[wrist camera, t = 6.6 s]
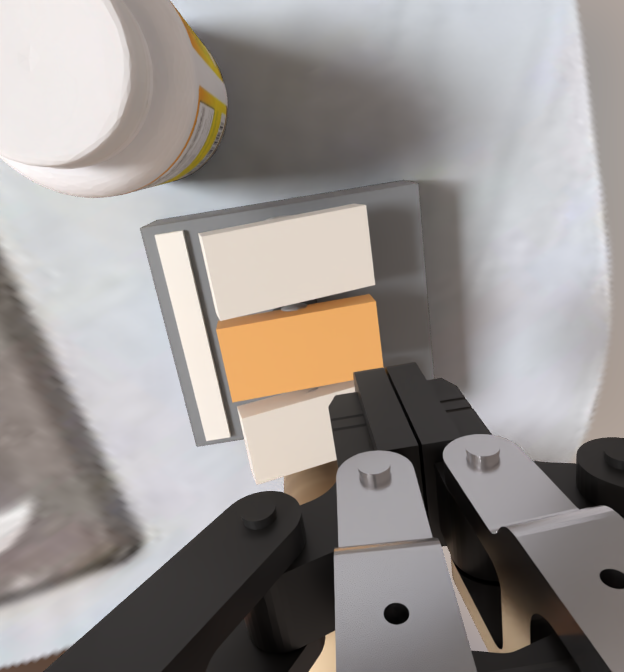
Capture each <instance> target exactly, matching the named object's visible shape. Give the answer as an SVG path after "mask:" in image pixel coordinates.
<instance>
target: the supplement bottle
mask: <svg viewBox="0 0 624 672" xmlns="http://www.w3.org/2000/svg"><path fill="white" fill-rule="evenodd" d="M227 116H228V99H227V92H226V88H225V84H224V80H223V77H222V75H221V72H220V70H219V68H218V66H217V64H216V62H215V60H214V58H213V57H212V55H211V54H210V52H209V51H208V50H207V48H206V47H205V46H204V44H203V43H202V42H201V41H200V40H199V38H198V37H197V35H196V34H195V33H194V32H193V30H192V29H191V27H190V26H189V25H188V24H187V22H186V21H185V20H184V19H183V17H182V16H181V14H180V13H179V12H178V10H177V9H176V8H175V6H174V5H173V4H172V3H171V1H170V0H0V158H1V159H3V160H4V161H5V162H6V163H7V164H8V165H9V166H10V167H12V168H13V169H15V170H16V171H17V172H19V173H20V174H22V175H23V176H25V177H26V178H28V179H30V180H31V181H33V182H35V183H37V184H39V185H41V186H43V187H46V188H48V189H51V190H54V191H57V192H59V193H63V194H67V195H72V196H77V197H86V198H100V197H112V196H118V195H123V194H127V193H131V192H134V191H138V190H142V189H145V188H149V187H153V186H157V185H161V184H165V183H168V182H172V181H176V180H179V179H182V178H184V177H186V176H189V175H191V174H193V173H194V172H195V171H197V170H198V169H200V168H201V167H202V166H203V165H204V164H206V163H207V161H208V160H209V159H210V158H211V157H212V156H213V154H214V153H215V152H216V150H217V148H218V146H219V145H220V143H221V140H222V138H223V135H224V132H225V129H226V123H227Z"/></svg>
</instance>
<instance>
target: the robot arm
mask: <svg viewBox="0 0 624 672" xmlns="http://www.w3.org/2000/svg"><path fill="white" fill-rule="evenodd" d="M353 378H354V386H355V392H352V393H346V394H340V395H335V396H334V398H333V400H332V401H331V403H330V405H329V406H328V409H329V415H330V421H331V428H332V434H333V440H334V446H335V452H336V458H337V464H338V471H337V475H336V482H335V484H334V485H333V486H332V487H331V488H330V489H329V490H328V491H327V492H326V493H324V494H323V495H321V496H320V497H318V498H316V499H314V500H312V501H309V502H307V503H304V504H302V505H299V503H298V501H297V500H296V499H295V498H294V497H292V496H291V495H288V494H286V493H283V492H277V491H265V492H259V493H254V494H251V495H248V496H246V497H244V498H242V499H240V500H238V501H236V502H235V503H234V504H232V505H231V506H230V507H229V508H228V509H226V510H225V511H224V512H223V513H222V514H221V515H220V516H218V517H217V518H216V519H215V520H214V521H213V522H212V523H211V524H209V525H208V526H207V527H206V528H205V529H204V530H203V531H202V532H200V533H199V534H198V535H197V536H196V537H195V538H194V539H192V540H191V541H190V542H189V543H188V544H187V545H186V546H185V547H183V548H182V549H181V550H180V551H179V552H178V553H177V554H176V555H174V556H173V557H172V558H171V559H170V560H169V561H168V562H166V563H165V564H164V565H163V566H162V567H161V568H160V569H159V570H157V571H156V572H155V573H154V574H153V575H152V576H151V577H150V578H148V579H147V580H146V581H145V582H144V583H143V584H142V585H140V586H139V587H138V588H137V589H136V590H135V591H134V592H133V593H131V594H130V595H129V596H128V597H127V598H126V599H125V600H124V601H122V602H121V603H120V604H119V605H118V606H117V607H116V608H115V609H113V610H112V611H111V612H110V613H109V614H108V615H107V616H105V617H104V618H103V619H102V620H101V621H100V622H99V623H98V624H96V625H95V626H94V627H93V628H92V629H91V630H90V631H89V632H87V633H86V634H85V635H84V636H83V637H82V638H81V639H79V640H78V641H77V642H76V643H75V644H74V645H73V646H72V647H70V648H69V649H68V650H67V651H66V652H65V653H64V654H63V655H61V656H60V657H59V658H58V659H57V660H56V661H55V662H54V663H52V664H51V665H50V666H49V667H48V668H47V669H46V670H45V671H43V672H309V670H310V669H311V667H312V666H313V665H314V663H315V662H316V660H317V659H318V657H319V656H320V654H321V652H322V650H323V647H324V645H325V639H326V637H325V635H327V634H329V633H331V632H333V631H335V641H336V672H624V438H616V437H614V438H613V437H612V438H611V437H610V438H609V437H608V438H600V439H595V440H591V441H589V442H587V443H585V444H583V445H582V446H581V447H580V448H579V449H578V451H577V458H576V464H573V463H548V462H538V461H532V460H531V458H530V457H529V456H528V455H527V454H526V453H525V452H524V451H523V450H522V449H521V448H520V447H519V446H518V445H517V444H515V443H514V442H512V441H510V440H508V439H506V438H503V437H500V436H495V435H492V434H491V433H490V431H489V430H488V429H487V427H486V426H485V424H484V423H483V422H482V420H481V419H480V418H479V416H478V415H477V413H476V412H475V411H474V409H472V408H471V405H470V404H469V402H468V401H467V400H466V399H465V397H464V395H463V394H462V393H461V391H460V390H459V388H458V387H457V386H456V385H454V384H452V383H450V382H448V381H446V380H444V379H442V378H438V379H432V380H426V378H425V376H424V375H423V373H422V372H421V370H420V368H419V367H418V365H417V363H416V362H412V363H406V364H400V365H394V366H387V367H385V370H384V368H383V367H382V368H376V369H370V370H363V371H357V372H353ZM442 546H447V547H448V549H449V551H450V554H451V564H452V576H453V580H454V582H455V585H456V586H457V589H458V591H459V592H460V594H461V596H462V598H463V601H464V603H465V605H466V607H467V609H468V611H469V613H470V615H471V617H472V619H473V621H474V623H475V625H476V627H477V629H478V631H479V633H480V635H481V637H482V639H483V641H484V643H485V645H486V647H487V649H488V651H489V652H481V651H471V648H470V645H469V641H468V639H467V634H466V631H465V628H464V624H463V620H462V617H461V614H460V610H459V606H458V603H457V600H456V597H455V592H454V589H453V585H452V582H451V578H450V575H449V572H448V568H447V564H446V561H445V557H444V554H443V550H442Z"/></svg>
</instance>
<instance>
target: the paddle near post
mask: <svg viewBox="0 0 624 672" xmlns="http://www.w3.org/2000/svg"><path fill="white" fill-rule="evenodd" d="M352 392H355V386H354V380H351V381H346V382H341V383H335V384H330V385H324V386H319V387H314V388H308V389H303V390H297V391H292V392H288V393H284V394H280V395H277V396H273V397H270V398H266V399H262V400H259V401H255V402H251V403H248V404H244V405H240V406H237V409H238V414H239V418H240V423H241V427H242V432H243V436H244V440H245V445H246V449H247V454H248V458H249V463H250V467H251V471H252V474H253V476H254V479H255V482H256V484H257V485H258V484H262V483H265V482H268V481H271V480H274V479H277V478H281V477H284V476H287V475H290V474H293V473H296V472H300V471H303V470H306V469H309V468H312V467H315V466H319V465H322V464H325V463H328V462H331V461H335V460H337V458H336V452H335V446H334V440H333V434H332V428H331V421H330V415H329V409H328V406H329V405H330V403H331V401H332V400H333V398H334V396H335V395H340V394H346V393H352Z"/></svg>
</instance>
